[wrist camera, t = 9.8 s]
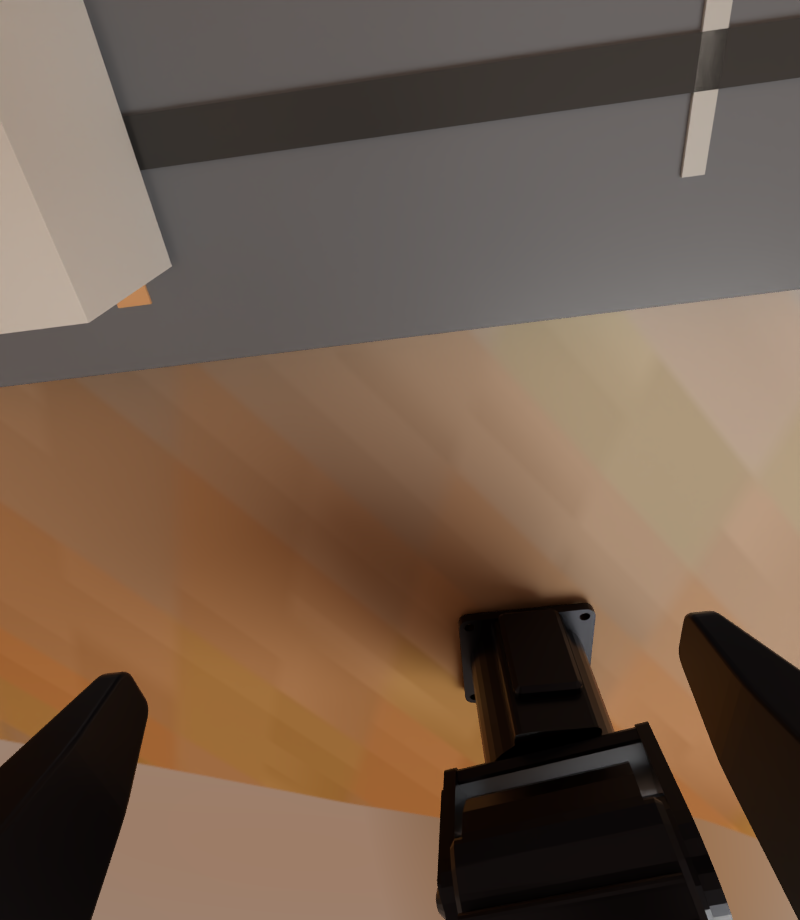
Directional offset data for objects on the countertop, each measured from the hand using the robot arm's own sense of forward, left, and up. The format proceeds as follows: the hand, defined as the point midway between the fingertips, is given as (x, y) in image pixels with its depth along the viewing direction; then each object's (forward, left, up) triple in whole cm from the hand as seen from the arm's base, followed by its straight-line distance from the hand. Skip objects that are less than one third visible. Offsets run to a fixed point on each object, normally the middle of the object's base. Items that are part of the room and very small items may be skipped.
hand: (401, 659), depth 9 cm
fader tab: (+8, +7, -10) cm, 15 cm away
